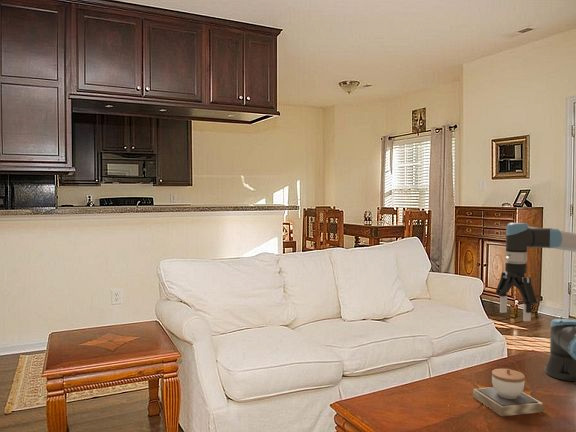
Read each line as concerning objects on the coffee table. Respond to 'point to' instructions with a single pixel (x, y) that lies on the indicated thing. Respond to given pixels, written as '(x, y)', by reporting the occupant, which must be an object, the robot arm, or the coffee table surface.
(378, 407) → the coffee table surface
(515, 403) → the stand
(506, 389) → the lidded jar
